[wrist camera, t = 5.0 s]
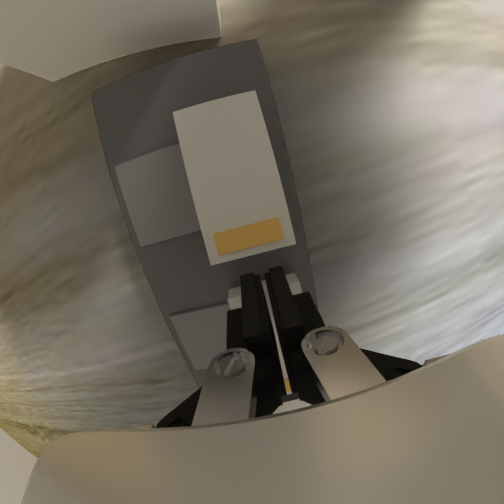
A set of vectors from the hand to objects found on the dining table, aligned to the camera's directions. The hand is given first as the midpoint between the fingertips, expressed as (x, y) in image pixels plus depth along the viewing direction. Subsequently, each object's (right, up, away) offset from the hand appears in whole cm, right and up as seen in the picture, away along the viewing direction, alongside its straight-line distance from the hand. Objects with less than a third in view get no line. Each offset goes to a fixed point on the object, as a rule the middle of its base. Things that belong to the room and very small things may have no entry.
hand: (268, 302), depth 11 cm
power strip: (-1, -2, +8) cm, 8 cm away
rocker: (-1, +5, 0) cm, 5 cm away
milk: (-9, +20, -1) cm, 21 cm away
